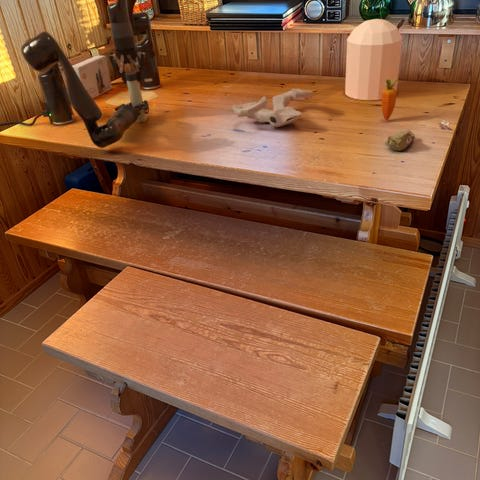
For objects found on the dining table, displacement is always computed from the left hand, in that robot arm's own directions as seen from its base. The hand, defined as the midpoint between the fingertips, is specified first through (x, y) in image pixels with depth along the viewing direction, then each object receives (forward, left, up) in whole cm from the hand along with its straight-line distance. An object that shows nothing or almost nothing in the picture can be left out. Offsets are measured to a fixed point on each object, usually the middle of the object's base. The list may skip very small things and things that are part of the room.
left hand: (139, 102), depth 187 cm
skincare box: (-35, +32, -6) cm, 48 cm away
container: (+92, +25, -6) cm, 95 cm away
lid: (0, -3, +12) cm, 12 cm away
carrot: (+96, -8, -6) cm, 96 cm away
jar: (0, -3, -6) cm, 7 cm away
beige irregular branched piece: (+58, -10, -6) cm, 59 cm away
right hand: (0, -3, +9) cm, 10 cm away
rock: (+99, -30, -6) cm, 103 cm away
